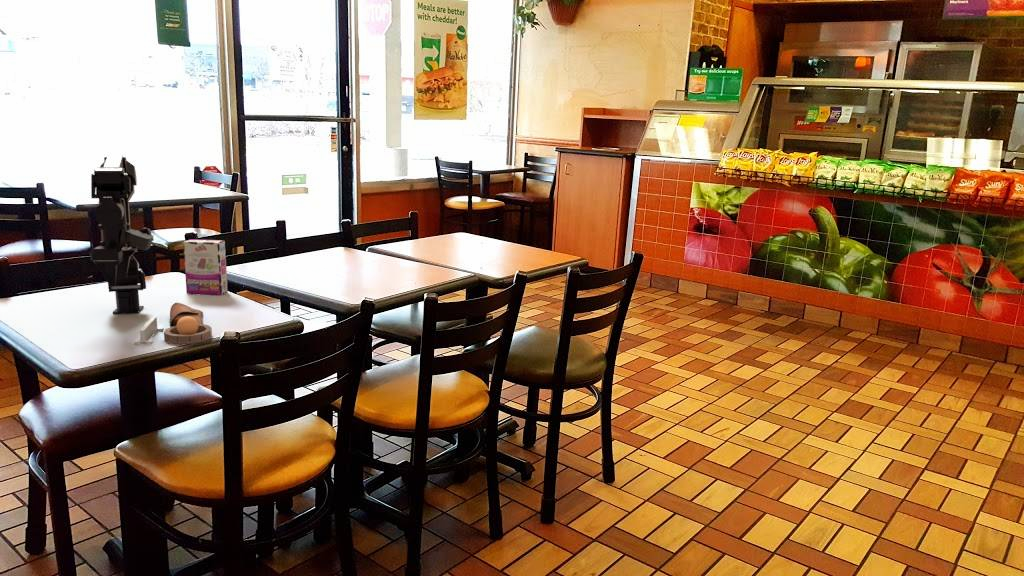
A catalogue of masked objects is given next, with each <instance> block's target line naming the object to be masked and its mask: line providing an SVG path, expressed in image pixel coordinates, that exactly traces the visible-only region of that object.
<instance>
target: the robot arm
mask: <svg viewBox="0 0 1024 576" xmlns="http://www.w3.org/2000/svg"><path fill="white" fill-rule="evenodd" d="M103 157H104V159H103V162H102V164H101V165H100V166H99V167H96V168H94V169H93V171H94V172H92V173H91V176H90V178H91V179H90V180H91V184H90V185H91V190H90V191H91V193H90V194H91V196H90V197H91V199H98V204H97V206H96V208H95V209H94V218H95V220H96V221H97V222H98V223H99V224H98V225H97V229H98V230H100V233H101V241H99V245H98V246H96V247H94V248H93V249H92V250H91V251H90V252H89V256H90V258H89V259H90V261H93V263H94V264H95V265H96V267H97V268H98V269H99V271H100V272H101V274H102V275H103V277H104V278H105V280H106V282H107V285H108V287H107V289H108V292H109V293H111V292H115V302H116V303H115V304H116V308H115V309H114V310H113V311H112V314H113V315H116V314H139V313H140V312H141V311H142V310H143V309H144V305H140V299H139V298H140V296H139V291H143V290H146V289H147V283H146V275H145V273H144V272H143V269H142V268H140V264H139V262H138V260H137V259H136V258H135V256H134V254H135V253H136V252H137V251H138V249H139V250H140V251H141V250H142V251H148V250H149V249H151V246H152V244H153V243H152V242H154V240H155V239H154V235H153V234H152V230H151V229H150V228H147V227H143V228H142V229H140V230H138V229H137V230H136V229H132V228H131V227H132V226H131V217H130V216H131V215H130V201H131V199H132V197H133V195H134V194H135V192H136V191H135V186H137V184H138V183H137V181H138V180H137V172H136V167H135V165H133V164H132V163H131V162H129V161H128V160H127V157H126V155H123V154H106V155H104V156H103Z"/></svg>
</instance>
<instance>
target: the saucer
mask: <svg viewBox="0 0 1024 576" xmlns="http://www.w3.org/2000/svg"><path fill="white" fill-rule="evenodd" d="M212 331H213V329H212V327H211V326H210V325H208V324H204V323H203V324H198V330H197V332H196V333H195V334H190V335H181V334H180V333H179V332H178V330H177V325H176V326H173V327H170V326H169V327H167V328H166V329H165V330H163V338H164V342H165V341H166V343H167V342H168V344H170V343H171V344H172V345H182V344H186V345H193V344H192V343H196V344H200V343H199V342H201V343H203V342H204V341H205V342H206V341H209V340H211V339H212V338H213V332H212ZM211 337H212V338H211ZM210 338H211V339H210ZM205 342H204V343H205Z"/></svg>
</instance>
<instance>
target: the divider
mask: <svg viewBox="0 0 1024 576" xmlns="http://www.w3.org/2000/svg"><path fill="white" fill-rule="evenodd" d="M157 318H158V317H157V316H151V318H150V319H149V320H148V321H147V322H146V323H145V324H144V325H143V326H142V327H141V329H140V330H139V339H140V340H134V341H133V345H153V343H154V340H151V338H153V336H154V335H155V333H157V332H164V331H165V330H164V327H158V319H157ZM153 334H154V335H153Z"/></svg>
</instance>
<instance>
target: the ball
mask: <svg viewBox="0 0 1024 576" xmlns="http://www.w3.org/2000/svg"><path fill="white" fill-rule="evenodd" d="M177 330H178V332H179V333H180V334H181V335H190V334H195V333H196V332H197V330H198V322H197V320H196V319H195V318H193V317H191V316H185V317H182V318H181V319H179V321H178V322H177Z"/></svg>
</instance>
